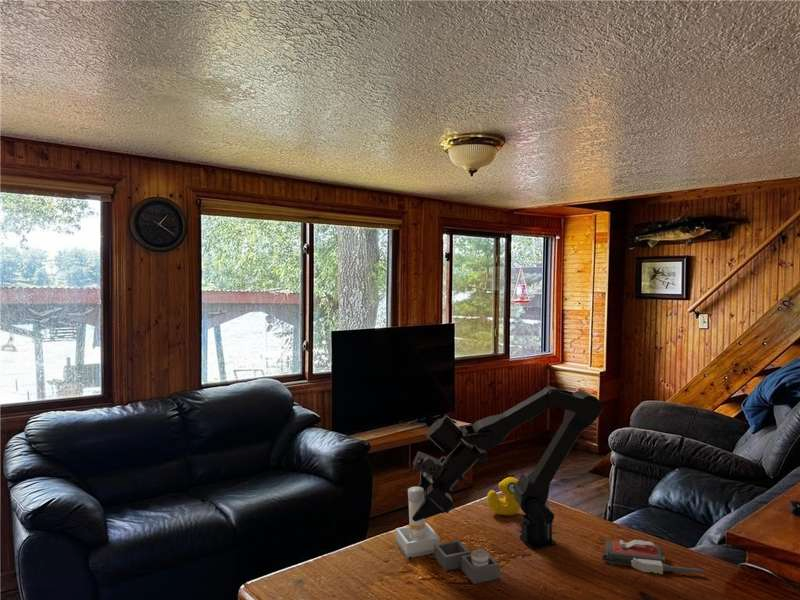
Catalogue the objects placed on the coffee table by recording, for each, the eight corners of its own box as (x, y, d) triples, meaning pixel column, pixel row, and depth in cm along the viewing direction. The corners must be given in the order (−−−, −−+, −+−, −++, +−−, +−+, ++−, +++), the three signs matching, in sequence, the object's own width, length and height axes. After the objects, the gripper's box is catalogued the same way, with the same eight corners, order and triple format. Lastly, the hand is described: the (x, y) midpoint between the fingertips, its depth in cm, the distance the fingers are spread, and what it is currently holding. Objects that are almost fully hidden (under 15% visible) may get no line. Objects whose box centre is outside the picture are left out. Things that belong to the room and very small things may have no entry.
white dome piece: (483, 567, 122) (483, 548, 122) (492, 576, 119) (491, 556, 119) (468, 571, 121) (468, 551, 121) (476, 580, 118) (475, 559, 117)
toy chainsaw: (602, 569, 121) (704, 581, 116) (602, 549, 121) (704, 560, 116) (600, 550, 130) (694, 560, 124) (599, 531, 130) (694, 540, 124)
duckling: (527, 509, 152) (527, 473, 151) (531, 518, 146) (531, 481, 146) (486, 510, 152) (485, 474, 152) (488, 518, 147) (488, 481, 146)
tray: (427, 536, 138) (426, 522, 138) (440, 551, 130) (439, 537, 130) (396, 542, 135) (395, 528, 135) (407, 558, 127) (406, 543, 127)
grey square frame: (458, 552, 129) (458, 539, 129) (470, 565, 124) (470, 552, 124) (434, 557, 127) (434, 544, 127) (445, 570, 122) (444, 557, 122)
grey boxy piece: (486, 564, 124) (485, 551, 124) (499, 578, 118) (499, 564, 118) (461, 569, 122) (461, 556, 122) (473, 583, 116) (473, 570, 116)
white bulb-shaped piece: (425, 538, 134) (423, 486, 134) (425, 546, 131) (424, 492, 130) (409, 539, 134) (407, 486, 134) (409, 547, 131) (408, 493, 130)
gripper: (428, 430, 141) (386, 475, 141) (437, 454, 122) (388, 505, 122) (460, 459, 142) (418, 503, 142) (473, 487, 123) (425, 538, 123)
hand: (412, 511), depth 132 cm, fingers open, 9 cm apart
